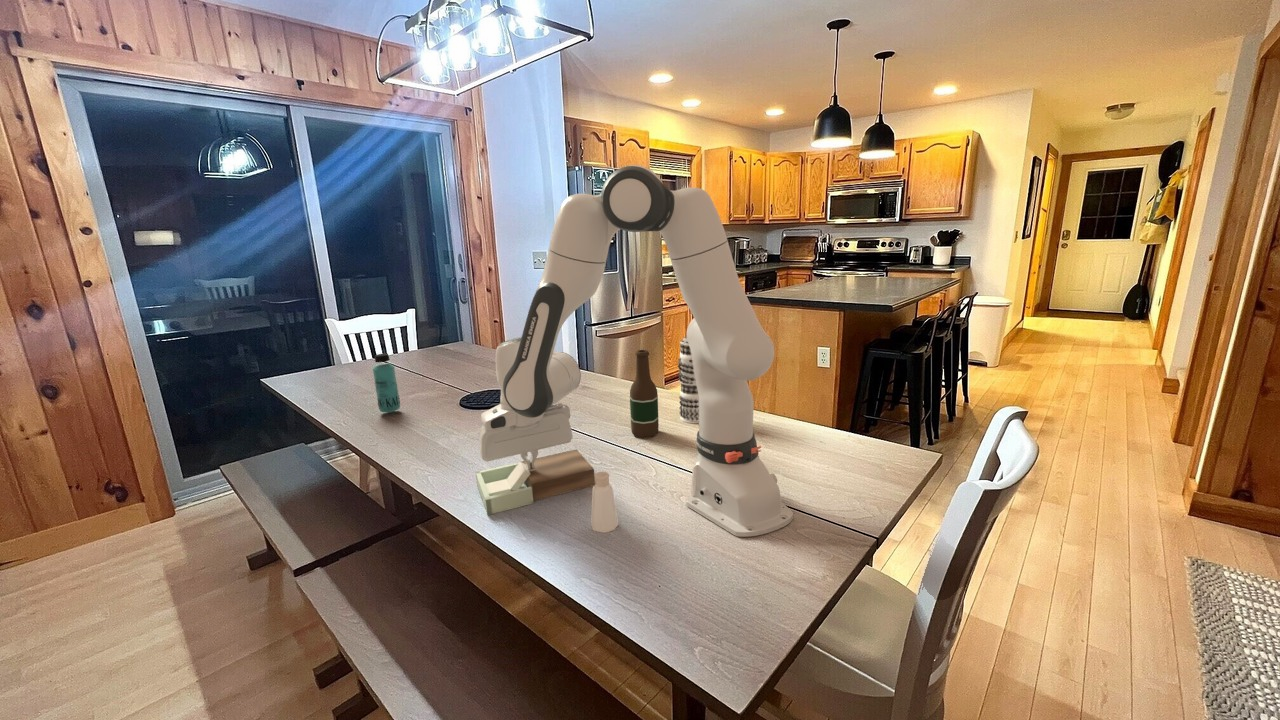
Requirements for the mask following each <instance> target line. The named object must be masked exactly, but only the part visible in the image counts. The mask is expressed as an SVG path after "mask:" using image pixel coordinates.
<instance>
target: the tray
mask: <svg viewBox="0 0 1280 720" xmlns="http://www.w3.org/2000/svg"><path fill="white" fill-rule="evenodd" d="M518 464H519V462H514V463H509V464H505V465H500V466H497V467H495V466H494V467H492V468H487V469H482V470H478V471H475V479H476V485H477V490H478V492H479V494H480V498H481V500H482V504H483V506H484V510H485V513H486V512H487V513H486V515H487V516H489V515H493V514H498V513H501V512H505V511H508V510H513V509H517V508H521V507H525V506H528V505H532V504H534V499H533V494H532V488H531V487H526V485H525V483H523V484H522V486H521V487H520V488H519V489H518V490H514V491H513V490H511V491H510V492H506V493H502V494H498V495H494V496H489V493H488V491H487V488H486V485H485V484H487V483H491V482H496V481H500V480H504V479H507V478H508V477H509V475H510V474H511V473H512V471H513V470H514V469H515V467H516V466H517V465H518Z"/></svg>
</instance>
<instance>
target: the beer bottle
mask: <svg viewBox="0 0 1280 720" xmlns="http://www.w3.org/2000/svg"><path fill="white" fill-rule="evenodd" d="M635 356H636V361H635V362H636V363H635V365H636V366H635V371H636V372H635V379H634V381H633V383H632V384H631V386H630V389H629V407H630V408H629V410H630V412H629V413H630V429H631V433H632V435H633V436H634V437H635V438H638V439H639V438H640V439H644V440H645V439H650V438H654V437H655V436H657V435H658V434H659V428H660V427H659V397H658V396H659V395H658V389H657V386H656V384H655V383H654V382H653V380H652V377H651V372H650V371H651V370H650V362H649V361H650V358H649V356H650V352H649V351H648V350H647V349H638V350H637V351H635Z"/></svg>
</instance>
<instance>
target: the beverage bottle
mask: <svg viewBox="0 0 1280 720" xmlns="http://www.w3.org/2000/svg"><path fill="white" fill-rule="evenodd" d="M390 360H391V359H390V356H389V354H388V353H378V354H376V355H375V356H374V362H375V363H378V364H376V365H375V366H374V367H373V368H372V371H373V372H372V373H373V379H374V384H375V385H374V387H375V392H376V397H377V398H376V400H377V405H378V410H379V412H381V413H392V412H395V411H398V410H400V408H401V400H400V398H401V397H400V394H399V388H398V382H397V377H396V371H395V370H396V369H395V366H394V365H393V364H391V363H388V361H390ZM385 362H386V363H385Z"/></svg>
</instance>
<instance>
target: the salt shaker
mask: <svg viewBox="0 0 1280 720" xmlns="http://www.w3.org/2000/svg"><path fill="white" fill-rule="evenodd" d="M594 478H595V485H593V486H592V495H591V496H592V498H591V512H590V513H591V514H590V515H591V516H590V525H591V528H592V530H593V532H597V533H602V534H604V533H608V532H612V531H615V529H616V528H617V527H618V526H619V519H618V514H617V507H616V500H615V496H614V489H613V486H612V484H611V483H610V474H609V472H607V471H598V472H596V473H594Z"/></svg>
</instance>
